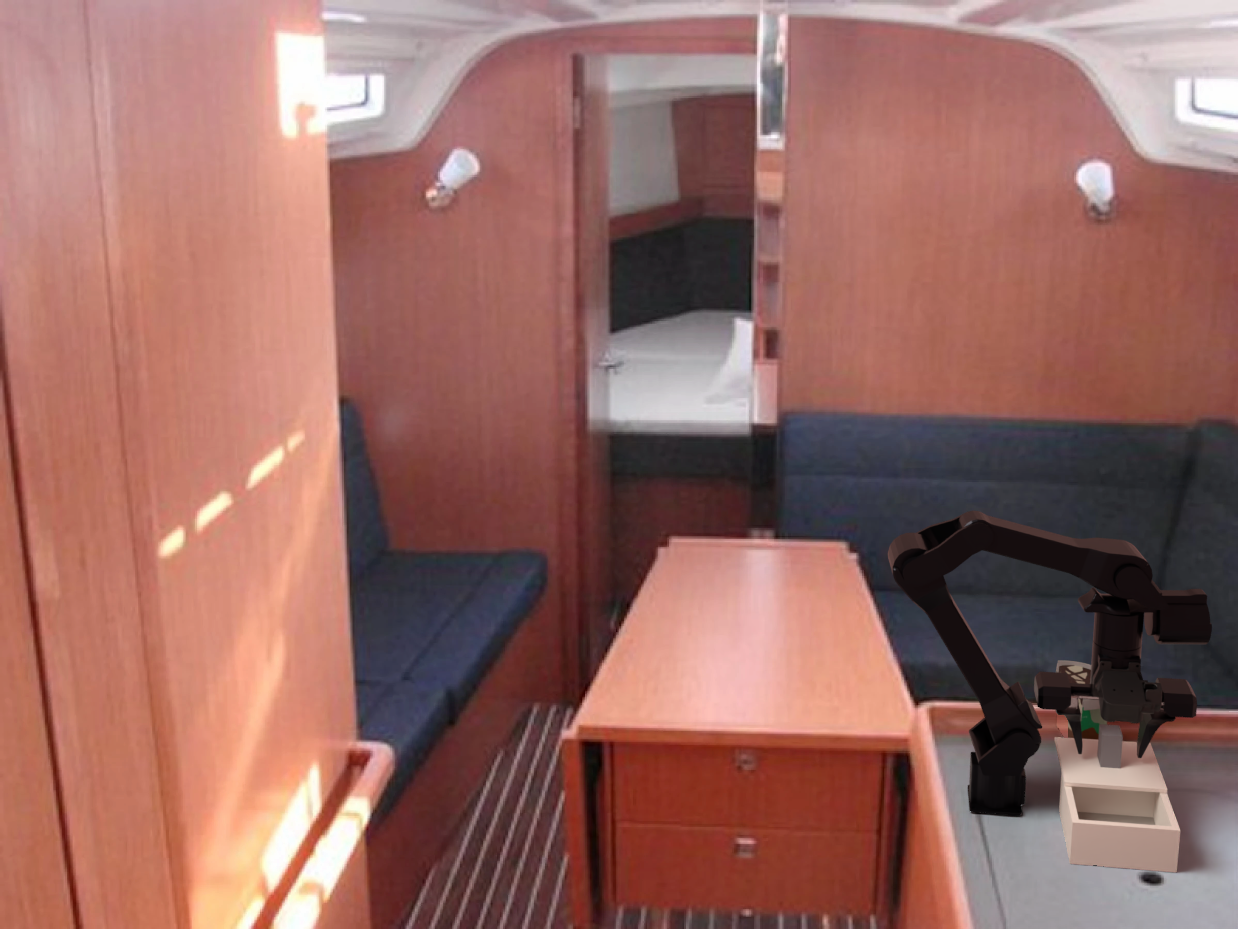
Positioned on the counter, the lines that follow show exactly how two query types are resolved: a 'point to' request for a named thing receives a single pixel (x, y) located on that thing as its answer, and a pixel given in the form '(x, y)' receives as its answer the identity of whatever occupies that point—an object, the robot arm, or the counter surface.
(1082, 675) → the food container
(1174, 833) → the carton
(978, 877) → the counter surface
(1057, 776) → the counter surface
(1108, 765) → the lid
